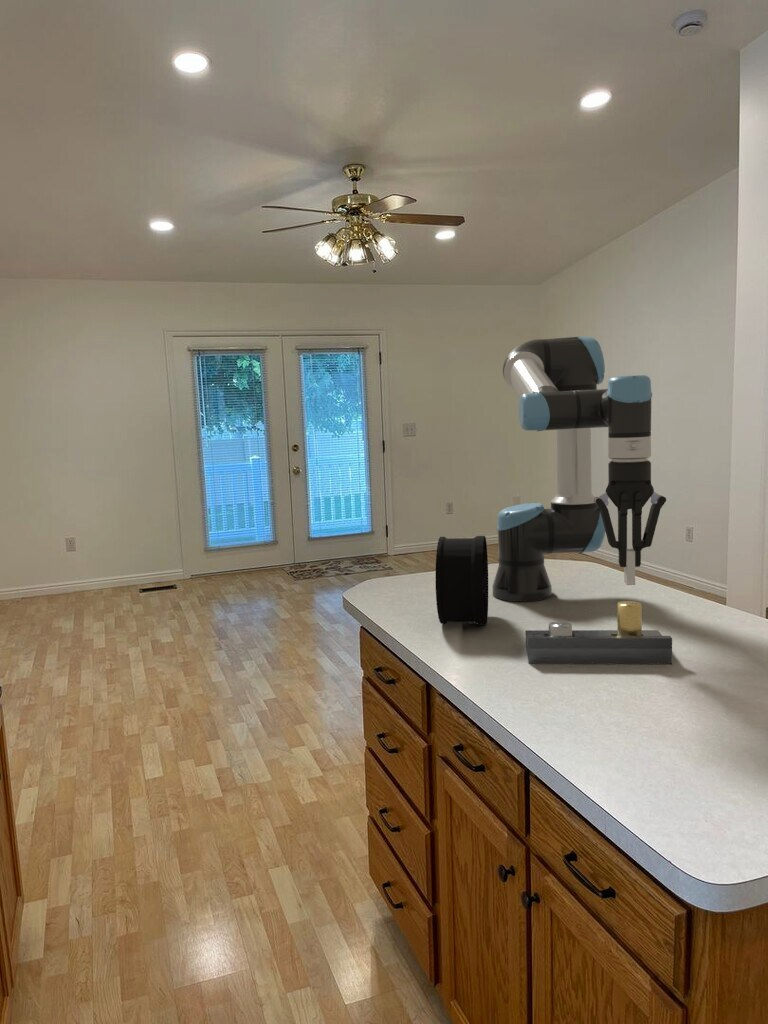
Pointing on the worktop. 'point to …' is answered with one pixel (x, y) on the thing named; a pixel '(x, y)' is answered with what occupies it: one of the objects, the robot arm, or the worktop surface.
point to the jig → (598, 648)
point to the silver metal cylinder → (560, 628)
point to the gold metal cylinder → (629, 618)
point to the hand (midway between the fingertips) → (629, 583)
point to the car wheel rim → (462, 580)
